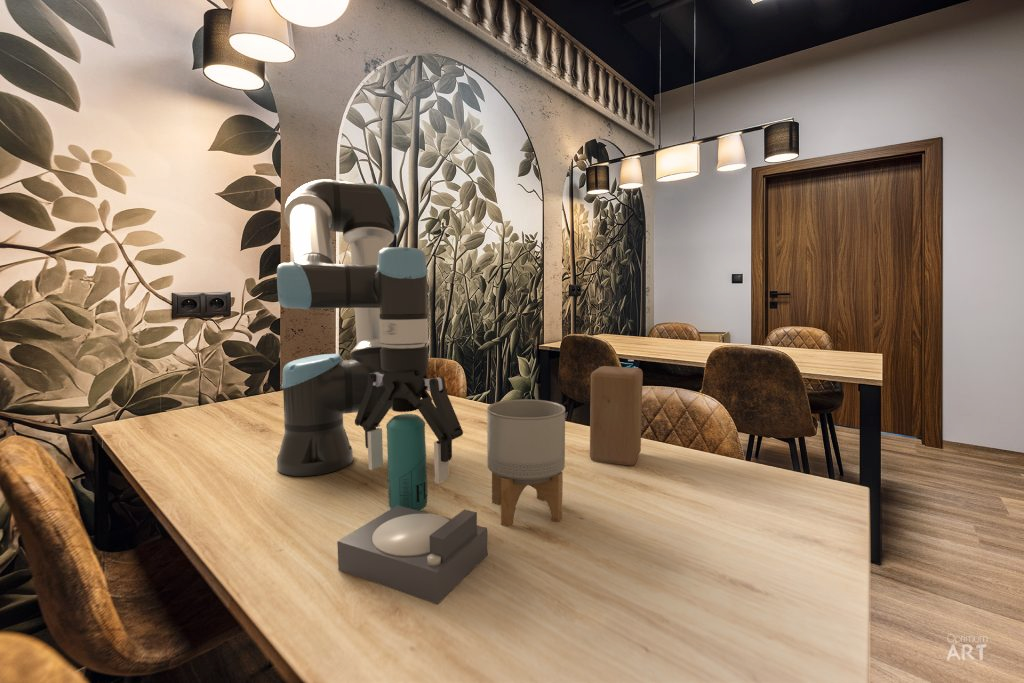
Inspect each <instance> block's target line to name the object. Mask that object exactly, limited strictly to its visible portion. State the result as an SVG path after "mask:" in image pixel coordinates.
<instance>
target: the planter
mask: <svg viewBox="0 0 1024 683" xmlns="http://www.w3.org/2000/svg"><path fill="white" fill-rule="evenodd" d="M486 408H487V409H486V420H487V423H486V425H487V428H486V432H487V433H486V434H487V435H486V436H487V442H486V444H487V445H486V446H487V448H486V449H487V450H486V452H487V469H488V470H489V471H490V472H491V503H492V504H493V505H496V506H497V505H500V504H501V505H500V507H501V510H500V511H501V513H500V515H501V519H500V520H501V521H500V522H501V524H500V525H501V526H504V527H506V528H510V527H512V526H513V525H514V520H515V511H516V507H517V504H518V501H519V500H520V496H521V494H522V492H523V491H524V490H525V488H526V487H531V488H533V489H534V490H536V499H538V500H542V501H545V502H546V503H547V506H548V509H549V511H550V518H551V521H554V522H560V520H562V519H563V479H564V478H563V476H564V475H563V471H564V469H565V468H566V467H565V465H566V464H565V463H566V459H565V458H566V457H565V456H566V455H565V454H566V451H565V450H566V407H565V406H564V405H562V404H560V403H558V402H555V401H554V402H553V401H549V400H544V399H543V400H542V399H529V398H528V399H526V398H525V399H507V400H502V401H497V402H493V403H491V404H489V405H488V406H487V407H486Z"/></svg>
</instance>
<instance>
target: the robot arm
mask: <svg viewBox="0 0 1024 683" xmlns="http://www.w3.org/2000/svg"><path fill="white" fill-rule="evenodd" d="M283 212H284V220H285V223H286V226H288V228H289V260H290V261H289V262H282V263H280V264H278V265H277V268H276V286H277V288H276V289H277V298H278V299H277V301H278V303H279V305H280V306H281V307H283V308H284V309H298V310H299V309H302V310H311V309H313V310H314V309H318V310H319V309H354V318H355V334H356V345H355V346H354V347H353V349H352V350H351V351H350V353H349V354H350V355H349V356H350V359H347V360H346V359H344V360H343V358H342V356H341V354H339V353H329V354H328V353H325V354H324V353H323V354H318V355H317V354H316V355H312V356H306V357H301V358H298V359H294V360H291V361H289V362H287V363H286V364H285V365H284V367H283V369H282V383H281V389H282V395H283V419H284V420H283V421H284V423H283V424H284V434H283V438H282V441H281V444H280V449H279V453H278V455H277V457H276V468H277V471H278V472H279V473H281V474H283V475H286V476H292V477H310V476H311V477H312V476H318V475H324V474H325V475H326V474H329V473H332V472H333V473H334V472H336V471H339V470H341V469H344V468H346V467H348V466H349V465H350V464H352V462H353V461H354V457H353V456H354V455H353V454H354V453H353V452H354V450H353V448H352V446H351V445H350V444H351V443H350V441H349V440H350V439H349V437H348V435H347V432H346V429H345V426H344V414H345V415H346V414H354V413H357V414H356V415H355V419H354V424H355V426H357V427H358V426H360V427H362V429H363V430H364V438H365V440H364V441H365V443H364V445H365V448H366V449H367V456H368V457H367V458H368V460H367V461H368V464H367V465H368V470H370V471H373V470H375V469H378V468H380V467H382V466H383V465H384V450H383V448H384V446H383V428H381V422H383V420H384V418H385V417H386V415H387V414H388V413H389V411H390V410H392V406H393V398H402V399H407V400H408V402H409V404H410V403H412V404H413V406H414V407H415V408H417V411H419V413H420V414H421V415H422V416H421V417H423V420H424V421H425V423H427V426H429V428H430V429H431V431H432V432H433V434H434V435H435V436H436V438H437V440H436V441H434V442H433V450H434V451H433V453H434V454H433V455H434V456H433V458H434V459H433V460H434V464H433V465H434V483H435V484H439V485H440V483H443V482H444V481H446V480H448V479H449V477H450V476H449V475H450V474H449V461H451V460H452V458H453V440H456V439H458V438H460V437H461V436H463V434H464V431H463V428H462V426H461V424H460V421H459V419H458V416H457V414H456V411H455V410H454V407H453V405H452V402H451V400H450V398H449V395H448V393H447V390H446V383H445V382H446V380H445V377H443V376H438V377H434V378H429V377H428V374H427V371H428V367H429V348H428V346H426V345H425V344H427V343H428V342H429V323H428V322H429V320H428V285H427V284H428V268H427V257H426V253H425V252H424V250H422V249H420V248H418V247H417V248H415V247H406V246H405V247H403V246H401V247H399V246H397V247H395V246H394V247H393V246H392V247H389V245H390V244H391V243H393V242H394V240H395V236H396V235H398V234H399V232H400V228H401V219H400V215H401V213H400V206H399V202H398V198H397V196H396V193H395V191H394V189H392V187H390V186H388V185H383V184H377V183H374V182H371V183H365V182H364V183H363V182H356V181H342V180H333V179H317V180H313V181H309V182H308V183H304V184H303V185H301V186H300V187H298V188H297V189H295V191H293V192H292V193H290V196H288V197H287V200H286V202H285V205H284V211H283ZM331 232H333V233H342V237H343V238H342V239H343V241H344V242H345V243H346V244H347V245H348V246H350V256H351V257H350V258H351V264H350V263H349V264H348V263H346V264H345V263H342V264H341V263H336V261H335V254H334V248H333V242H332V237H331ZM428 391H429V392H428ZM429 393H430V394H429Z"/></svg>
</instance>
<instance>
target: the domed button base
mask: <svg viewBox="0 0 1024 683" xmlns="http://www.w3.org/2000/svg"><path fill="white" fill-rule="evenodd" d="M488 535H489V534H488V527H485V526H481V525H478V512H477V511H473V510H469V509H462V510H461V511H460V512H459V513H458V514H456V515H455V516H453V517H452V518H449V517H446V516H442V515H439V514H433V513H431V512H426V511H422V510H421V511H418V510H414V509H410V508H406V507H402V506H398V505H397V506H395V507H394V508H392V509H388V510H387V511H385V512H384V513H382V514H380V515H378V516H377V517H375V518H374V519H372V520H371V521H368V522H367V523H365V524H364V525H362V526H361V527H358V528H357V529H355V530H354V531H352V532H350V533H349V534H347V535H345V536H343V537H342V538H340V539H338V540H337V546H336V547H337V567H338V571H340V572H344V573H346V574H349V575H352V576H354V577H355V576H356V577H358V578H361V579H364V580H366V581H369V582H372V583H375V584H378V585H381V586H383V587H385V588H388V589H389V588H390V589H393V590H395V591H397V592H401V593H404V594H406V595H409V596H411V597H415V598H418V599H420V600H423V601H427V602H428V603H431V604H435V605H439V604H440V603H441V602H442V601H443V600H444V599H445V598H446V597H447V596H448V595H449V594H450V593H451V592H452V591H453V590H454V589H455V588H456V587H457V586H458V585H459V584H460V583H461V582H462V581H463V580H464V579H465V578H466V577H467V576H468V575H469V574H470V573H471V572H472V571H473V570H475V568H476V567H477V566H478V565H479V564H480V563H482V561H483V560H484V559H485V558H486V557H487V556H488V554H489V553H488V551H489V550H488V547H489V546H488V542H489V541H488V538H489V537H488Z"/></svg>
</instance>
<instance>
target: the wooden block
mask: <svg viewBox="0 0 1024 683" xmlns="http://www.w3.org/2000/svg"><path fill="white" fill-rule="evenodd" d="M643 377H644V373H643V370H642V369H641V368H639V367H630V366H627V367H626V366H625V367H623V366H609V365H608V366H605V365H602V366H599V367H597V369H595V370H594V371H592V372H591V374H590V407H589V408H590V410H589V412H590V413H589V415H590V417H589V418H590V419H589V420H590V421H589V422H590V423H589V458H590V460H591V461H593V462H594V461H595V462H601V463H607V464H615V465H624V466H635V464H636V462H637V460H638V457H639V455H640V453H641V449H642V415H643V414H642V413H643V412H642V411H643V409H642V408H643V380H644V379H643Z"/></svg>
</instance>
